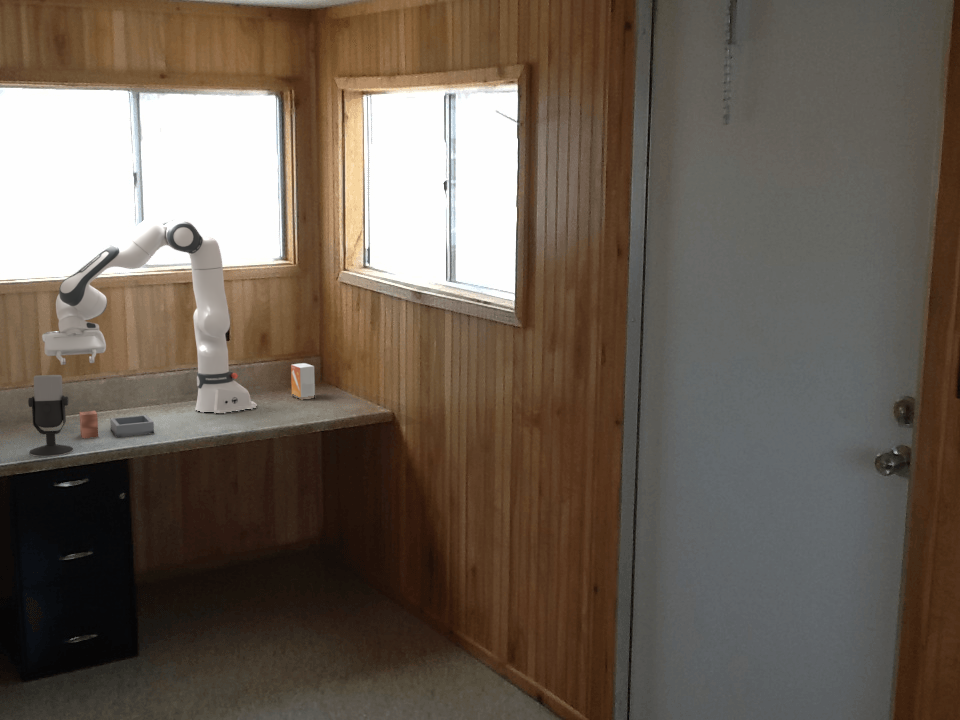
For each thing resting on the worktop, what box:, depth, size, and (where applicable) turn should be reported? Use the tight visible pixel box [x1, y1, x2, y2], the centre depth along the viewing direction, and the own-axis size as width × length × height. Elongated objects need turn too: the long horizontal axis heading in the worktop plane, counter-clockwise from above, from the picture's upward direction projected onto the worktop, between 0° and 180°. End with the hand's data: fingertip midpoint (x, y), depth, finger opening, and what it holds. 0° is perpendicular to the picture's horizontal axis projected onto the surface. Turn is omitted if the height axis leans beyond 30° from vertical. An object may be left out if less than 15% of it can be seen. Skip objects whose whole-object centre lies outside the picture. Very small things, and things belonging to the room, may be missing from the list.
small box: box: [290, 362, 316, 397], centre depth 443 cm, size 8×6×13 cm
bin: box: [109, 414, 155, 438], centre depth 389 cm, size 12×12×4 cm
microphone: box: [27, 374, 74, 457], centre depth 361 cm, size 13×13×25 cm
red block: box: [79, 410, 99, 439], centre depth 382 cm, size 5×5×8 cm
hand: (77, 362), depth 393 cm, fingers open, 8 cm apart
